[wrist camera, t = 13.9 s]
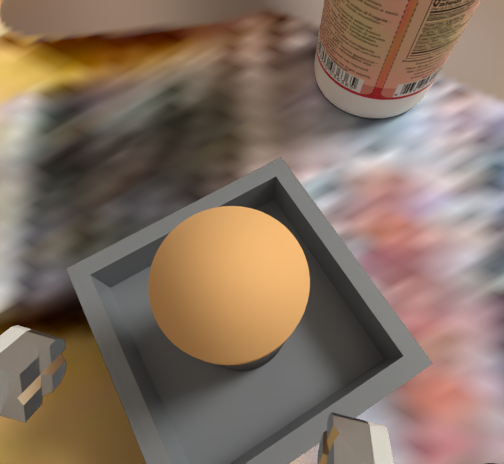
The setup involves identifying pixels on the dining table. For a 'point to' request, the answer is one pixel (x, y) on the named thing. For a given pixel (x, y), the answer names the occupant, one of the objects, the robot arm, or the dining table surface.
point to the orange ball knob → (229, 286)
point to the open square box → (260, 379)
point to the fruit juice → (385, 51)
